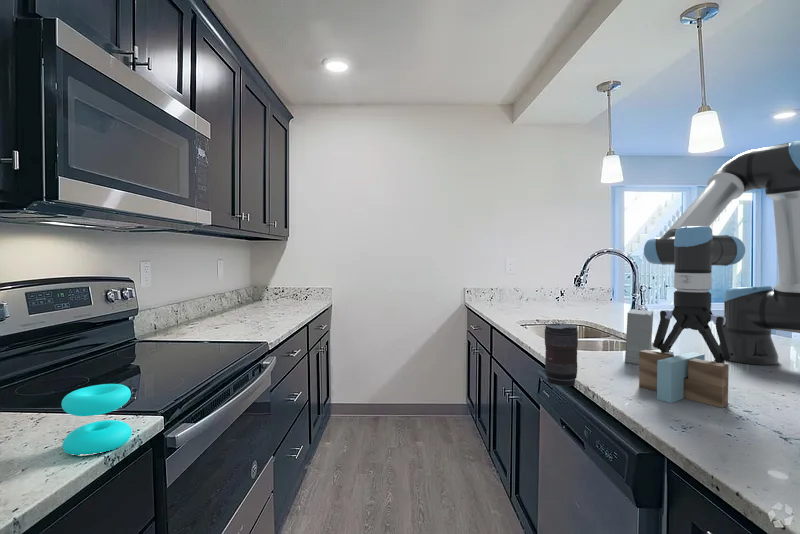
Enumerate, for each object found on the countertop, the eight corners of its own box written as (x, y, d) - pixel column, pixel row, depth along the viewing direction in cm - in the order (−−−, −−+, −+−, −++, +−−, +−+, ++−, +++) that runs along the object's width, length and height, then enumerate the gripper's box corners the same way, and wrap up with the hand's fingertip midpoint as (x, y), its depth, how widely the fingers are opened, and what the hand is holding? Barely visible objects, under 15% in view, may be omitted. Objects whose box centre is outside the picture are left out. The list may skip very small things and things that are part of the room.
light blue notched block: (690, 387, 108) (691, 352, 108) (704, 390, 106) (704, 354, 106) (656, 399, 100) (657, 360, 99) (670, 403, 97) (671, 363, 97)
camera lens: (537, 380, 115) (538, 324, 115) (561, 376, 118) (561, 322, 118) (560, 388, 108) (560, 329, 107) (584, 385, 111) (585, 326, 111)
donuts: (107, 399, 71) (45, 399, 71) (108, 459, 72) (47, 460, 71) (142, 381, 81) (88, 382, 81) (143, 434, 82) (89, 434, 81)
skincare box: (628, 357, 140) (628, 308, 140) (653, 360, 136) (654, 310, 136) (623, 362, 134) (624, 311, 133) (650, 366, 129) (651, 313, 129)
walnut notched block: (645, 384, 111) (645, 349, 111) (728, 405, 96) (728, 364, 96) (639, 386, 109) (639, 351, 109) (721, 407, 94) (722, 366, 94)
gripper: (637, 288, 112) (636, 374, 113) (740, 294, 93) (738, 398, 94) (653, 287, 116) (652, 370, 117) (754, 293, 97) (753, 392, 98)
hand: (690, 382), depth 105 cm, fingers open, 9 cm apart
